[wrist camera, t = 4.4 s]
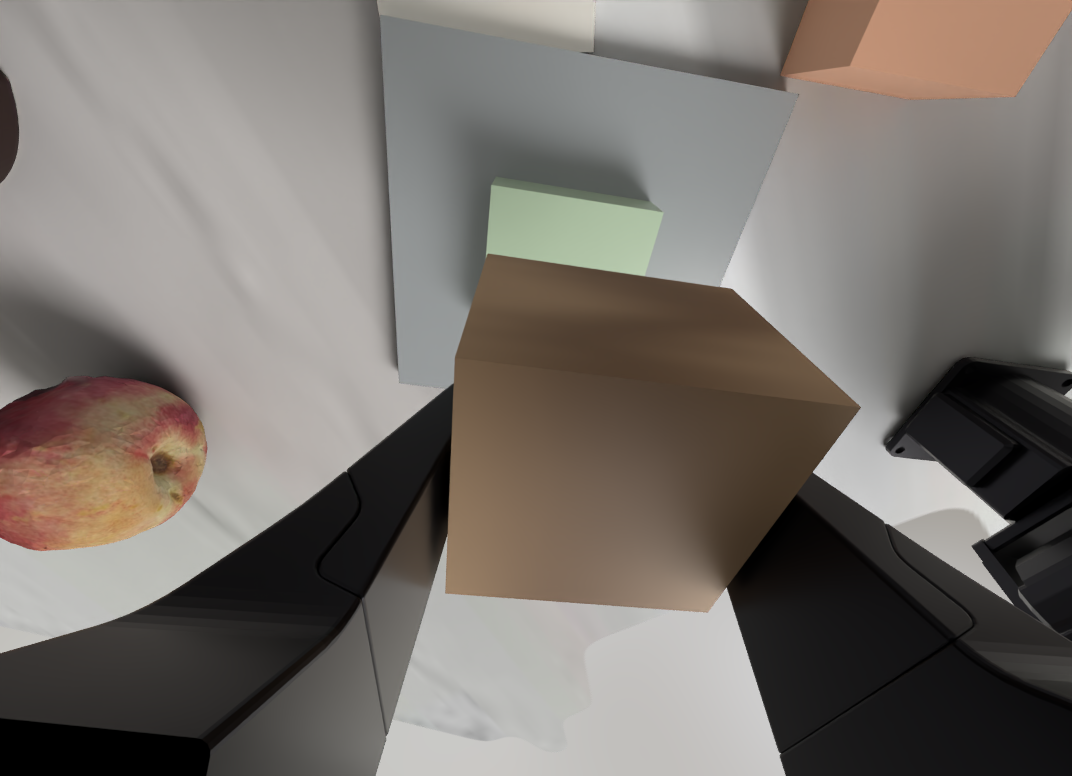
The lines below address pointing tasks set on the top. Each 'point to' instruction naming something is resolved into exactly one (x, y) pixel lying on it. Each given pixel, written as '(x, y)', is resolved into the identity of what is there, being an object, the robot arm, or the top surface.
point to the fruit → (95, 462)
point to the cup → (7, 127)
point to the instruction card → (507, 19)
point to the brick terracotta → (924, 45)
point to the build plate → (555, 171)
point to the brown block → (623, 437)
